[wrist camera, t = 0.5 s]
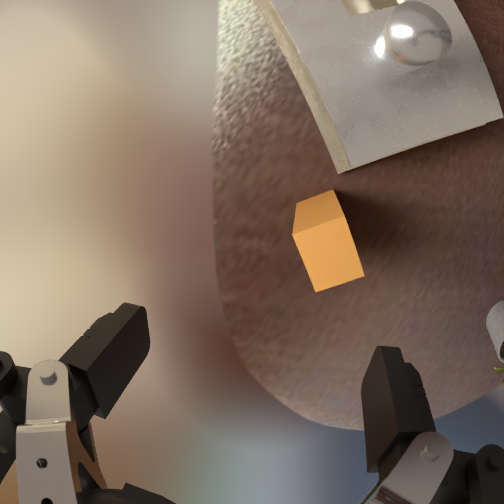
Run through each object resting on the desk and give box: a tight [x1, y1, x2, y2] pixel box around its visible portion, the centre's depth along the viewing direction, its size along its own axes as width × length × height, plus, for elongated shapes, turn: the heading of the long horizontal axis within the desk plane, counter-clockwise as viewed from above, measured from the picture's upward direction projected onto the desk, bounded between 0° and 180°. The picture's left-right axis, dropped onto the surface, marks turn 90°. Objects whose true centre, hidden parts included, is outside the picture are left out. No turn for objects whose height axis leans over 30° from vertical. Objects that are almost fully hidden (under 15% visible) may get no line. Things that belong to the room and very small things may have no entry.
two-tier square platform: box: [253, 0, 504, 174], centre depth 18 cm, size 18×21×12 cm
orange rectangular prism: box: [292, 190, 364, 292], centre depth 27 cm, size 4×5×10 cm
